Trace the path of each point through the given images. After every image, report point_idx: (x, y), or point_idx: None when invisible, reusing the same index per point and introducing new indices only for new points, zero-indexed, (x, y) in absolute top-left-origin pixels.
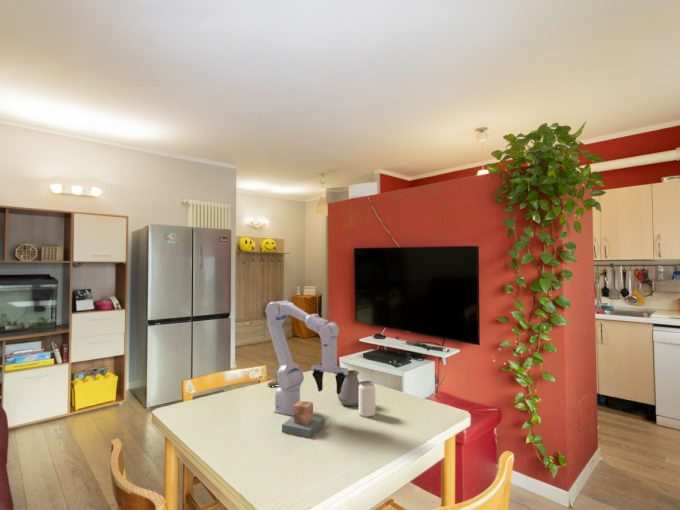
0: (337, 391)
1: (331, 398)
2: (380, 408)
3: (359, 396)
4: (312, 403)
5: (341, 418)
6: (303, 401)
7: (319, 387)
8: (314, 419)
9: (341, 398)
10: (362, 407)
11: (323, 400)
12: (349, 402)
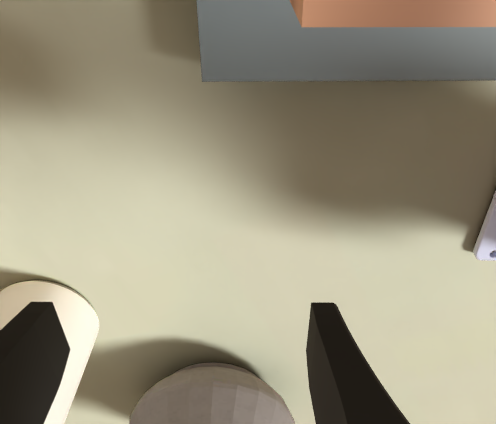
0: (17, 325)
1: None
2: None
3: None
4: (301, 4)
5: (151, 212)
6: (478, 14)
7: (321, 344)
8: (272, 1)
9: (244, 393)
10: None
11: (383, 379)
12: (187, 375)
